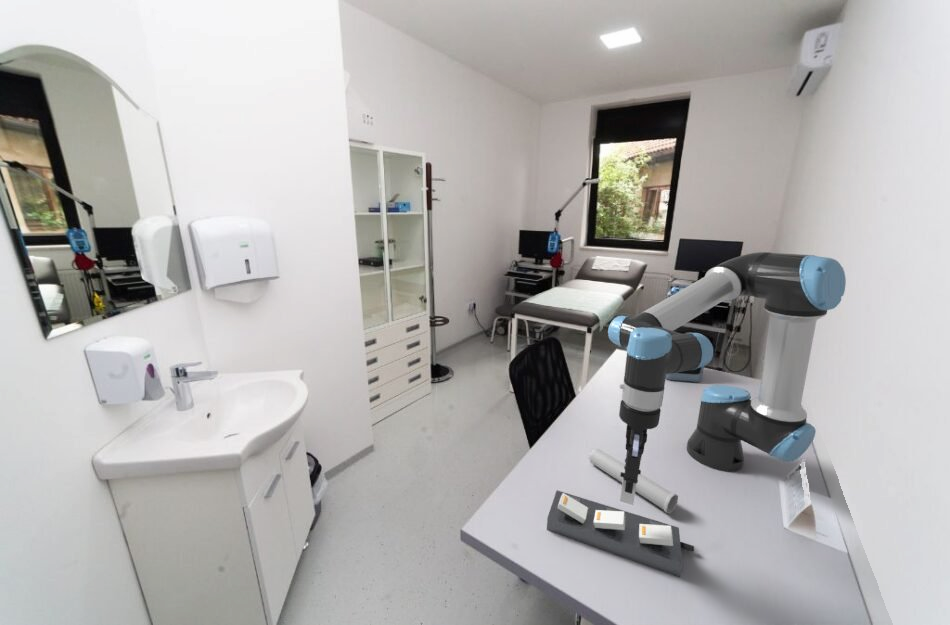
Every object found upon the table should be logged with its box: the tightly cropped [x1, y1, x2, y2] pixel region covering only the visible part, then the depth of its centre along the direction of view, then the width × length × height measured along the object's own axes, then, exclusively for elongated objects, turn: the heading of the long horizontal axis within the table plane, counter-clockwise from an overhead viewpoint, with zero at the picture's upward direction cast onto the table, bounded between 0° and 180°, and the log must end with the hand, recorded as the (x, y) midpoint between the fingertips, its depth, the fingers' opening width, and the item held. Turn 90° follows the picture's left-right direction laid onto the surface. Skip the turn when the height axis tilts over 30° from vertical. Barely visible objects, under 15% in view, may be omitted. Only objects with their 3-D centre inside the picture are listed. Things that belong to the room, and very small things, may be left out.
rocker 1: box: [558, 492, 588, 523], centre depth 86 cm, size 6×4×2 cm, turn 65°
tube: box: [588, 448, 679, 515], centre depth 102 cm, size 5×5×25 cm
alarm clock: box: [665, 366, 705, 383], centre depth 173 cm, size 16×16×16 cm
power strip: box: [546, 490, 695, 578], centre depth 84 cm, size 31×10×4 cm, turn 65°
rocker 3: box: [639, 524, 673, 546], centre depth 79 cm, size 6×4×2 cm, turn 65°
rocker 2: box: [594, 510, 626, 530], centre depth 83 cm, size 6×4×2 cm, turn 65°
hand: (626, 500), depth 80 cm, fingers closed
